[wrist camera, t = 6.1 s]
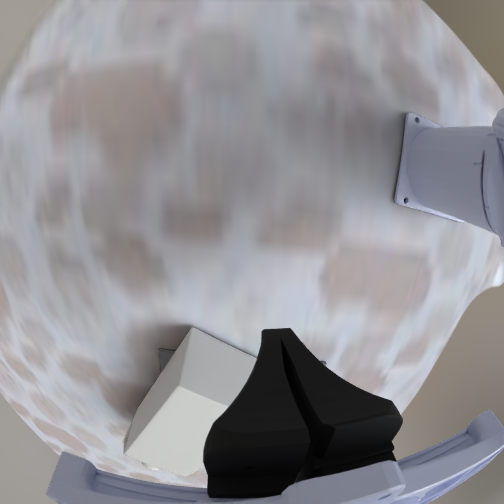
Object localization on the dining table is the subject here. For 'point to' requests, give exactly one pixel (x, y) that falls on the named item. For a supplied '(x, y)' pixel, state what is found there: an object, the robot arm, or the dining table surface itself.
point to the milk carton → (186, 403)
